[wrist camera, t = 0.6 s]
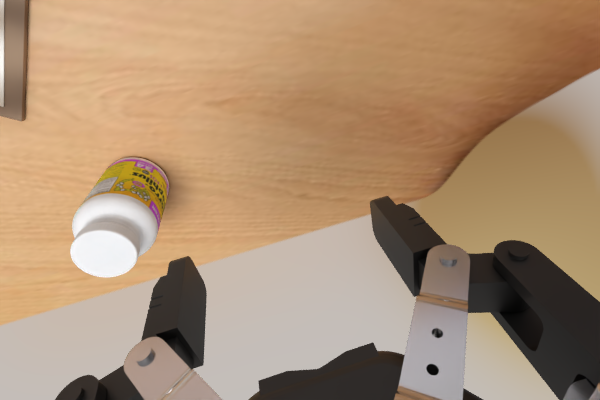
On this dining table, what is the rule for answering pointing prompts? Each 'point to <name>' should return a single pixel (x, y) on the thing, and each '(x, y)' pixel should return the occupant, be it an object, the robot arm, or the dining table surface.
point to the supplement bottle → (119, 217)
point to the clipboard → (13, 58)
